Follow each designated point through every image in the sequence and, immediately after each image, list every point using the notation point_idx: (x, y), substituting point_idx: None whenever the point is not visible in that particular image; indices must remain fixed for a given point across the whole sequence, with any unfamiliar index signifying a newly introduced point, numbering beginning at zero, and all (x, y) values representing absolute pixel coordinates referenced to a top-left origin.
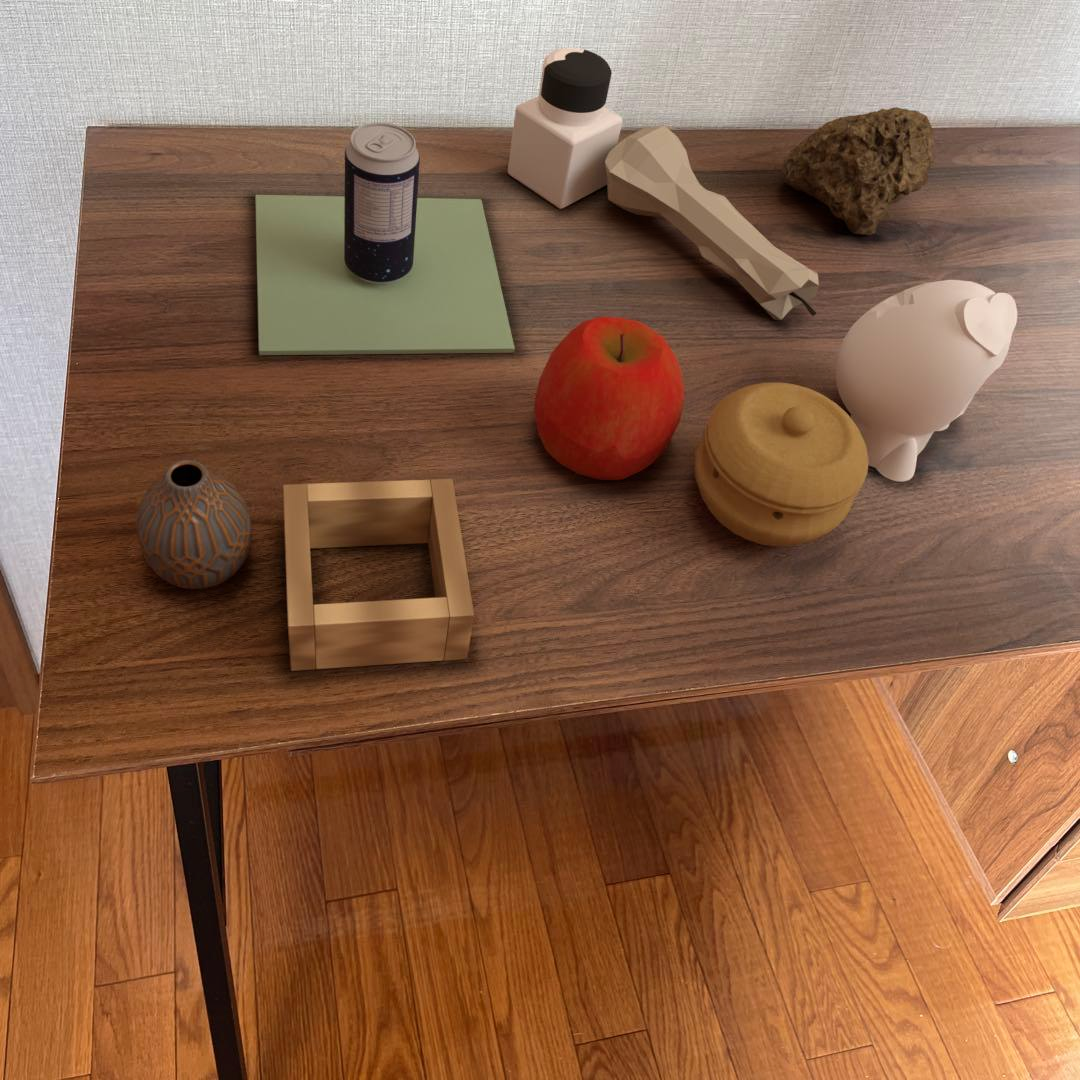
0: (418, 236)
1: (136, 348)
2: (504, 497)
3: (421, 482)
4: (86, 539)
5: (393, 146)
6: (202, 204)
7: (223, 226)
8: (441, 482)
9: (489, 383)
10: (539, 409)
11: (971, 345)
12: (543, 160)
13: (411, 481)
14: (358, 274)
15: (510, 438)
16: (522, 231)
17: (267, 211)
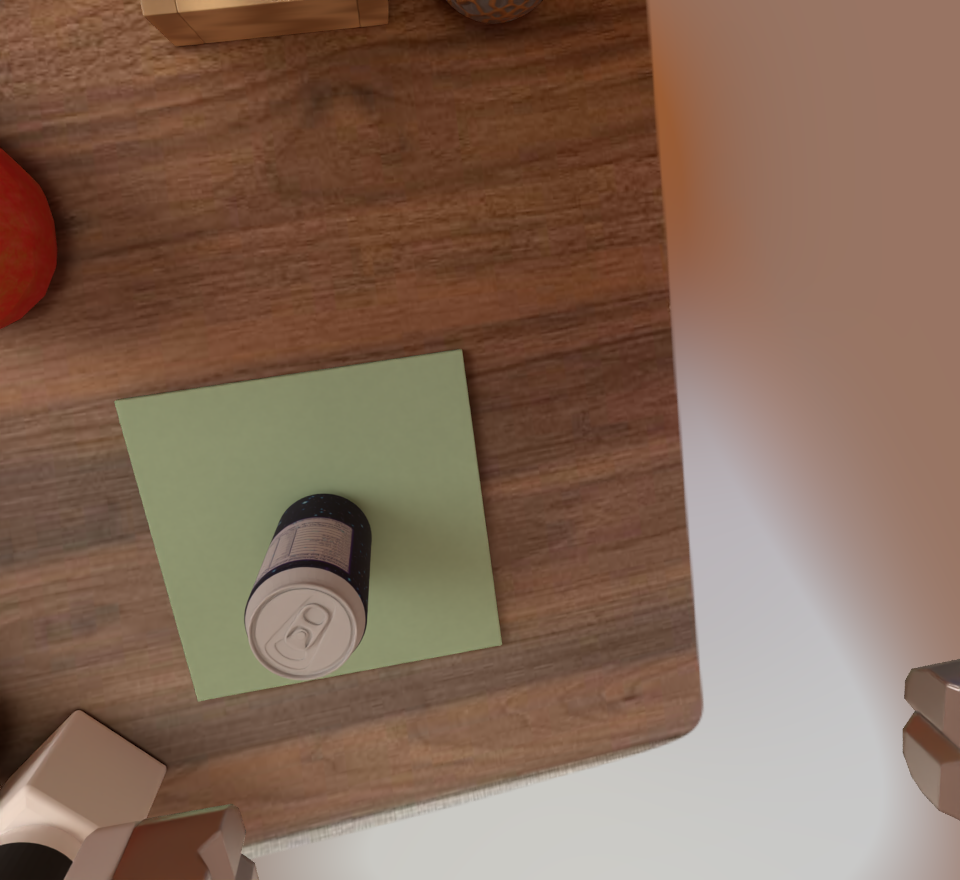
0: None
1: (608, 342)
2: (99, 107)
3: (189, 5)
4: (621, 3)
5: (285, 625)
6: (564, 618)
7: (534, 582)
8: (159, 6)
9: (146, 334)
10: (33, 207)
11: None
12: (93, 771)
13: (205, 6)
14: (348, 500)
15: (103, 226)
16: (132, 652)
17: (483, 615)
